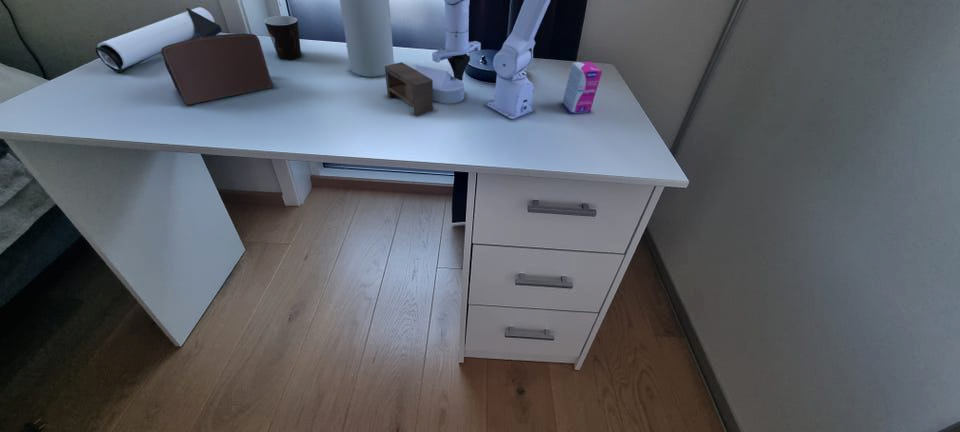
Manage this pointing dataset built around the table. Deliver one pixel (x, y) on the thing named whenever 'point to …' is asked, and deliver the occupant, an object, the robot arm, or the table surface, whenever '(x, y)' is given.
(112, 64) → the diploma
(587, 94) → the supplement box
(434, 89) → the wedge on round base
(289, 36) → the coffee mug
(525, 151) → the table surface
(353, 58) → the cylinder vase
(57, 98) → the table surface
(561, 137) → the table surface
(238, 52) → the letter holder
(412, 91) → the walnut stand
